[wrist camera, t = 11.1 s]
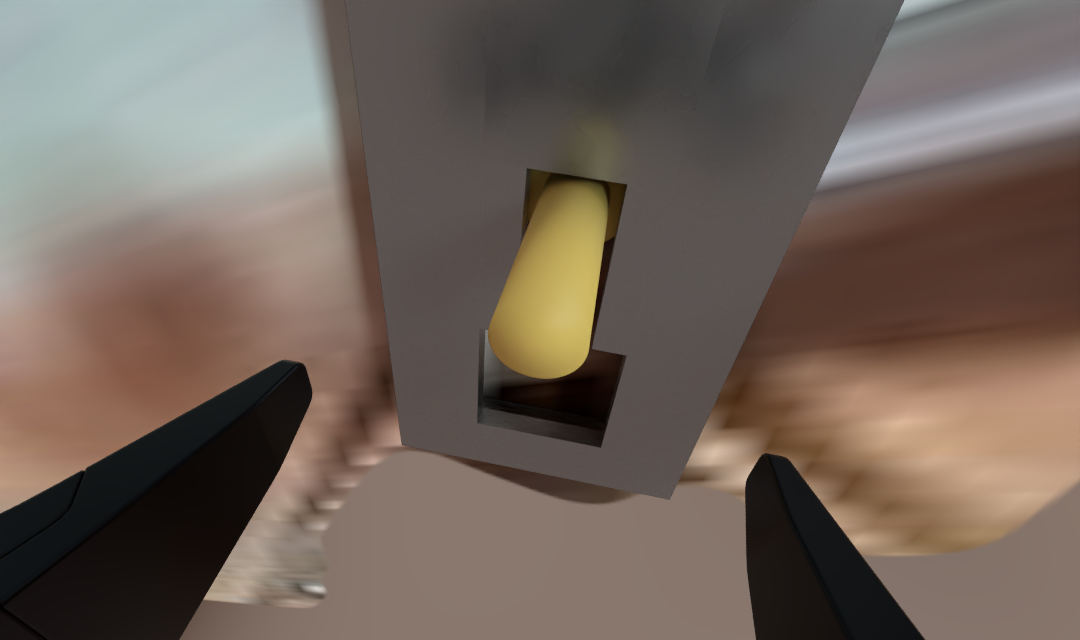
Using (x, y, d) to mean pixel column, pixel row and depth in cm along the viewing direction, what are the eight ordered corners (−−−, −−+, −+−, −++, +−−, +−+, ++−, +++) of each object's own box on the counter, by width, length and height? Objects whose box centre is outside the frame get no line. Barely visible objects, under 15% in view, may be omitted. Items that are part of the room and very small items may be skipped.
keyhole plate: (871, -35, 14) (915, -25, 12) (668, 451, 28) (669, 499, 26) (381, -96, 15) (332, -98, 13) (421, 402, 29) (401, 444, 27)
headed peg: (649, 132, 18) (648, 284, 10) (624, 237, 20) (610, 417, 13) (530, 114, 18) (449, 250, 11) (522, 220, 21) (452, 386, 13)
